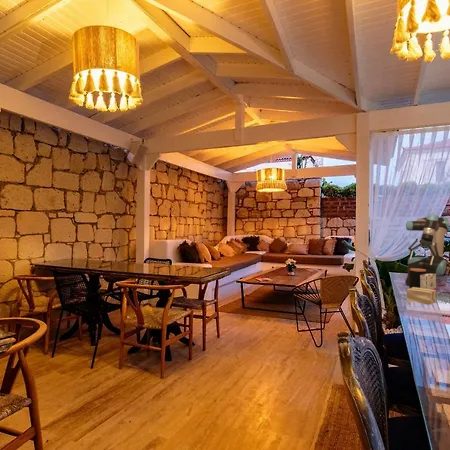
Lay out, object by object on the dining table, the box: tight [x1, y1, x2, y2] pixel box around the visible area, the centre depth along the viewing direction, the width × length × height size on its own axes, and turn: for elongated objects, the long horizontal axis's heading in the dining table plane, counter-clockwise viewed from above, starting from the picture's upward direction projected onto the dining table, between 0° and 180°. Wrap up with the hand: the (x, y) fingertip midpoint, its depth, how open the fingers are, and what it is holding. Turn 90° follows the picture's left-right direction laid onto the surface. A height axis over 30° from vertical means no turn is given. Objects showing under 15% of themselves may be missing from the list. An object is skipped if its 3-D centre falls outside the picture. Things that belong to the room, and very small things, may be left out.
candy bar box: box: [420, 274, 437, 291], centre depth 246 cm, size 11×5×16 cm, turn 117°
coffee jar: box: [408, 268, 426, 289], centre depth 258 cm, size 11×11×18 cm
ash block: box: [406, 287, 437, 306], centre depth 235 cm, size 12×14×8 cm
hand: (420, 262), depth 259 cm, fingers open, 13 cm apart
